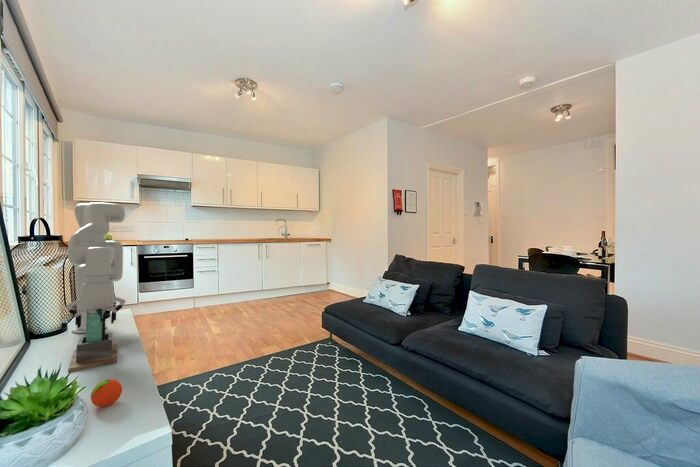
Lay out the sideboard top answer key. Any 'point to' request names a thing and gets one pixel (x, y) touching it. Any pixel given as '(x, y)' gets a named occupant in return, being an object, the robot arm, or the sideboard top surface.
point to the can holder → (93, 353)
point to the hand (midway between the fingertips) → (96, 324)
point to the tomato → (106, 393)
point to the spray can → (95, 325)
